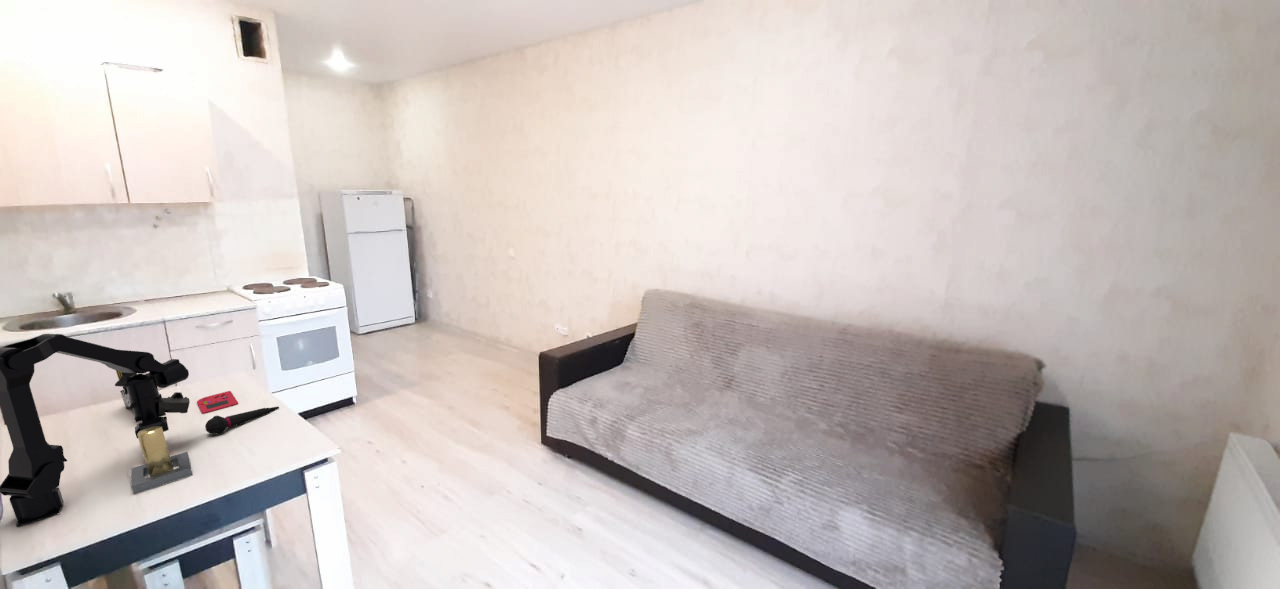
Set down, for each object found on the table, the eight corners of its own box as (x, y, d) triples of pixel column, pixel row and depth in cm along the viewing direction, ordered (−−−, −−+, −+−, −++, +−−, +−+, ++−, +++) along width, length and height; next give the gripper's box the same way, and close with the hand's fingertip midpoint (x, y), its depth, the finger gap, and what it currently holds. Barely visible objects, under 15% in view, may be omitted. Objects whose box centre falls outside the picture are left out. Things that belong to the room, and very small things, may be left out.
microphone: (276, 416, 168) (204, 438, 150) (271, 400, 168) (199, 420, 150) (285, 414, 165) (213, 436, 147) (281, 397, 165) (208, 417, 147)
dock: (133, 494, 123) (131, 486, 122) (133, 475, 131) (131, 468, 130) (192, 475, 130) (190, 467, 130) (189, 458, 138) (187, 451, 137)
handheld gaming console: (230, 389, 180) (238, 402, 170) (231, 393, 180) (239, 406, 170) (195, 398, 173) (201, 412, 163) (196, 402, 174) (202, 416, 164)
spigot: (150, 483, 127) (137, 437, 124) (150, 475, 130) (137, 430, 127) (175, 475, 130) (162, 430, 127) (174, 468, 134) (161, 424, 130)
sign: (129, 418, 169) (109, 362, 168) (142, 414, 172) (122, 359, 171) (140, 417, 156) (118, 355, 155) (154, 412, 158) (133, 352, 157)
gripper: (185, 396, 136) (199, 447, 140) (181, 377, 149) (193, 424, 153) (128, 410, 128) (144, 464, 132) (128, 388, 141) (143, 438, 145)
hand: (158, 446), depth 141 cm, fingers closed
